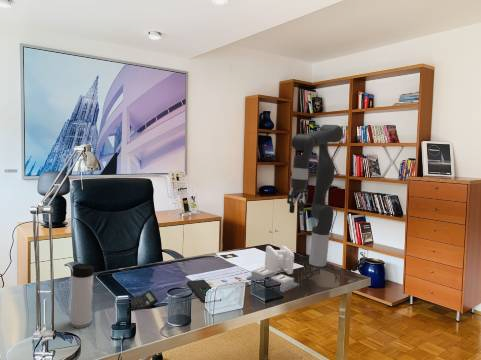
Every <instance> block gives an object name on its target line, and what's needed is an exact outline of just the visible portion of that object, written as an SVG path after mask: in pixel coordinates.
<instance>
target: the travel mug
mask: <svg viewBox="0 0 481 360" xmlns="http://www.w3.org/2000/svg"><path fill="white" fill-rule="evenodd" d="M71 280H72V281H71V309H70V310H71V312H70V315H71V316H70V325H71V326H72V327H73V328H76V329H83V328H86V327H88V326H89V327H90V325H91V324H92V322H93V320H92V319H93V299H94V298H93V295H94V266H93V265H90V264H88V263H76V264H73V265H72V279H71Z"/></svg>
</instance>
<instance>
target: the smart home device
mask: <svg viewBox="0 0 481 360" xmlns="http://www.w3.org/2000/svg"><path fill="white" fill-rule="evenodd" d="M186 285H187V286H188V288H190V290H191V291H192V292H193V293H194V295H196V297H198V299H199V300H200V301H201V302H202V303H205V296H206V292H207V291H208V290H209V289H211V288H213V287H212V286H211V285H210V284H209V282H207V281H206V280H205V279H195V280H187V281H186ZM205 304H206V303H205Z"/></svg>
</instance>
